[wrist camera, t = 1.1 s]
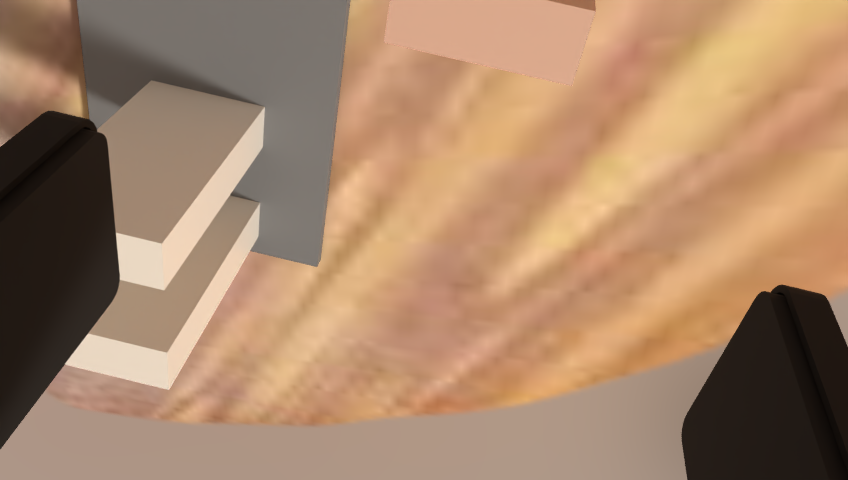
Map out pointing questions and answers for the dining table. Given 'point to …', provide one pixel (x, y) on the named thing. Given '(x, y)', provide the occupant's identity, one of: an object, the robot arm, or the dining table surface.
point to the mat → (237, 89)
